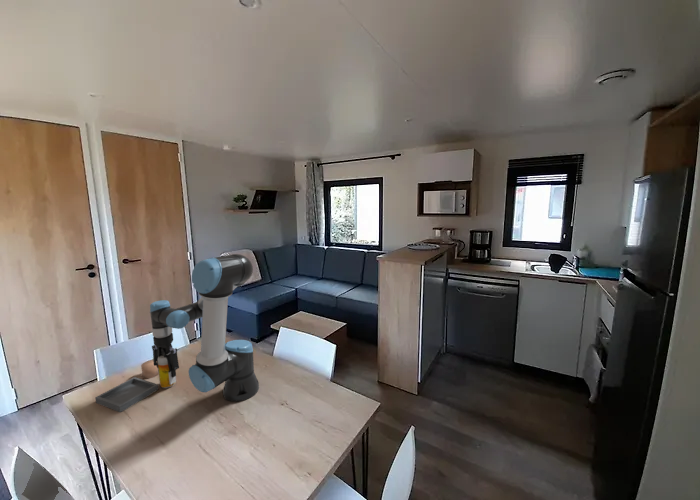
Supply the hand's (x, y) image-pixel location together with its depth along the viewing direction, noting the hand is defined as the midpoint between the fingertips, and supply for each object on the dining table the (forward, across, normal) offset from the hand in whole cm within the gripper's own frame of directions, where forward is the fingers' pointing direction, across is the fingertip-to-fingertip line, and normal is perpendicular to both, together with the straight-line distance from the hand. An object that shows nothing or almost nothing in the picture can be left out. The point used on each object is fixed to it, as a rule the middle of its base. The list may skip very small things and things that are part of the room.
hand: (167, 381), depth 136 cm
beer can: (+2, 0, 0) cm, 2 cm away
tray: (+2, +9, +12) cm, 15 cm away
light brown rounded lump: (+2, +16, -3) cm, 16 cm away
